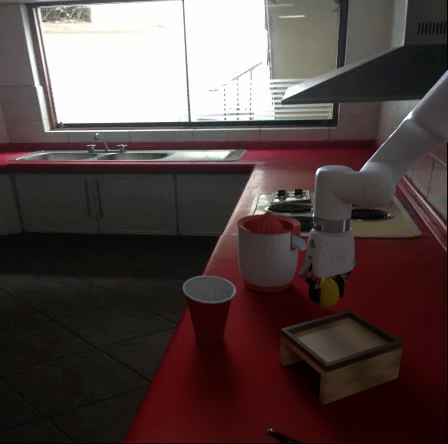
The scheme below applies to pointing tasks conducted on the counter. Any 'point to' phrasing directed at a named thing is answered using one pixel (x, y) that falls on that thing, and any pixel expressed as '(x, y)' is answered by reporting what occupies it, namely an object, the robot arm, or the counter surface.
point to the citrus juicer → (268, 251)
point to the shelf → (343, 353)
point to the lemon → (328, 293)
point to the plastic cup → (209, 306)
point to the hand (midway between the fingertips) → (325, 297)
